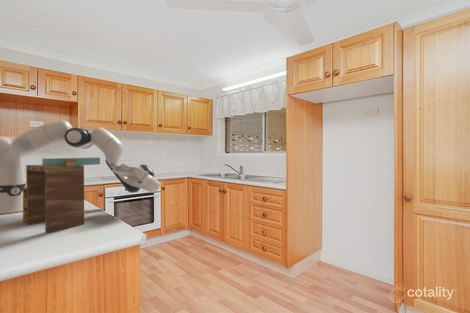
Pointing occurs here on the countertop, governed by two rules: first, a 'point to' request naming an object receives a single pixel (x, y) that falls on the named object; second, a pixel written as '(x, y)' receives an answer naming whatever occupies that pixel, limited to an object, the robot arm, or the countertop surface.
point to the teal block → (61, 161)
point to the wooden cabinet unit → (55, 195)
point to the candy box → (24, 205)
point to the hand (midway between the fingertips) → (116, 164)
